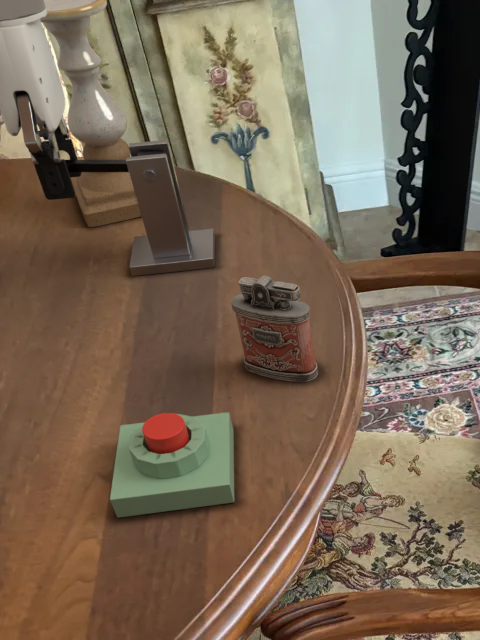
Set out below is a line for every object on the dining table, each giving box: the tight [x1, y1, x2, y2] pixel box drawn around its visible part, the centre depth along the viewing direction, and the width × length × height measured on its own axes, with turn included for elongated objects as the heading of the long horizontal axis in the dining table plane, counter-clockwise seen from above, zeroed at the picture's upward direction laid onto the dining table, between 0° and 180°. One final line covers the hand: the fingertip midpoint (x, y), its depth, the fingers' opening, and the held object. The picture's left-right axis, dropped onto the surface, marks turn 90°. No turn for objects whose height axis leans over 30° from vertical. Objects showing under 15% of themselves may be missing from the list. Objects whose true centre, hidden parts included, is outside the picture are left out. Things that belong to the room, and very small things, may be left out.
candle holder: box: [40, 0, 142, 228], centre depth 100 cm, size 11×11×24 cm
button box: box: [109, 411, 235, 519], centre depth 69 cm, size 10×10×4 cm
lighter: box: [230, 274, 319, 383], centre depth 77 cm, size 8×3×10 cm, turn 70°
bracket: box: [126, 139, 216, 277], centre depth 93 cm, size 10×8×13 cm
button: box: [142, 412, 189, 454], centre depth 68 cm, size 4×4×2 cm
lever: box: [59, 150, 163, 172], centre depth 89 cm, size 12×5×2 cm, turn 99°
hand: (64, 185), depth 90 cm, fingers closed on lever, 5 cm apart
